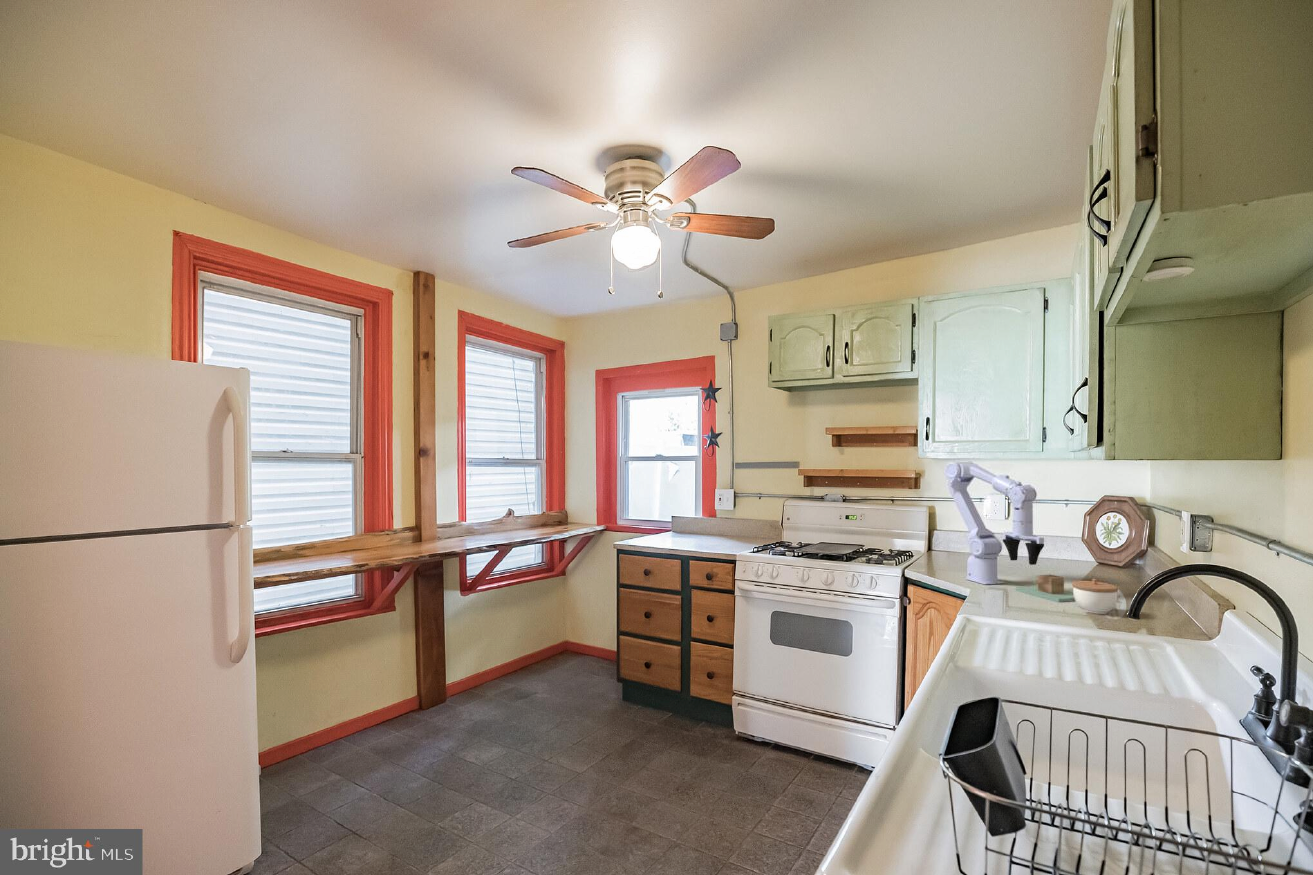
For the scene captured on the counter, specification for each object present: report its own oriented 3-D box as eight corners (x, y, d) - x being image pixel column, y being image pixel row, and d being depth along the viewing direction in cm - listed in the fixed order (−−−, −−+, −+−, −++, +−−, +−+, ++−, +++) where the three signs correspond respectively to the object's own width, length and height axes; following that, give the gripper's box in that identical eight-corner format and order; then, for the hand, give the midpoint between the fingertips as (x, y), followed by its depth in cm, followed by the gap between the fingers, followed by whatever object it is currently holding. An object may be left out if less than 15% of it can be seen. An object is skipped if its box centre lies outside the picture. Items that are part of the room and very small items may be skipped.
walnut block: (1037, 590, 198) (1037, 575, 198) (1050, 589, 200) (1050, 574, 200) (1051, 594, 194) (1051, 578, 194) (1063, 593, 195) (1063, 577, 195)
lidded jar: (1079, 604, 184) (1079, 573, 185) (1122, 612, 176) (1122, 579, 176) (1067, 610, 178) (1067, 578, 178) (1112, 618, 169) (1111, 584, 170)
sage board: (1015, 590, 203) (1015, 587, 203) (1045, 588, 206) (1045, 585, 206) (1058, 602, 187) (1058, 598, 187) (1089, 599, 190) (1089, 596, 190)
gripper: (995, 519, 209) (995, 558, 209) (1031, 524, 195) (1031, 566, 194) (1012, 518, 211) (1012, 558, 210) (1049, 523, 196) (1049, 565, 196)
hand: (1023, 562), depth 203 cm, fingers open, 7 cm apart
